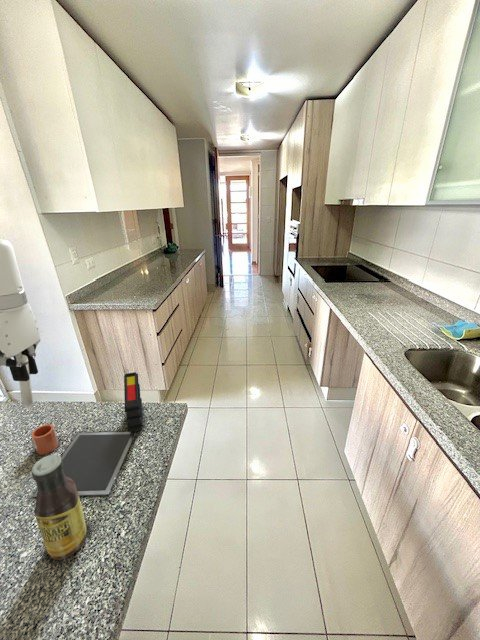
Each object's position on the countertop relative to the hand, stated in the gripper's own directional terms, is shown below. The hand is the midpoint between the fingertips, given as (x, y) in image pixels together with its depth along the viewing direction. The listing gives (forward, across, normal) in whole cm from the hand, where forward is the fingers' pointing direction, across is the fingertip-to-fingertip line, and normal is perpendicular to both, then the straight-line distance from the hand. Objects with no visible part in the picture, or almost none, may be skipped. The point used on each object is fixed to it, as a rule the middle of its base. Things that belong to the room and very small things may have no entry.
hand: (26, 376), depth 60 cm
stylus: (+8, 0, -2) cm, 9 cm away
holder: (+23, 0, 0) cm, 23 cm away
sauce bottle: (+22, +21, +18) cm, 36 cm away
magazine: (+22, -10, +20) cm, 31 cm away
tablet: (+22, +4, +13) cm, 26 cm away
